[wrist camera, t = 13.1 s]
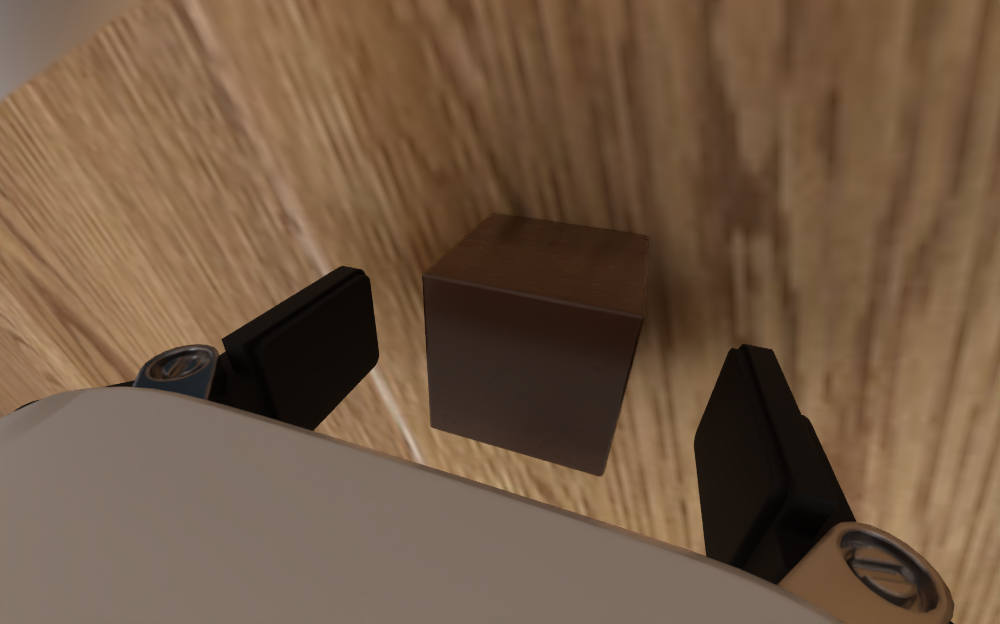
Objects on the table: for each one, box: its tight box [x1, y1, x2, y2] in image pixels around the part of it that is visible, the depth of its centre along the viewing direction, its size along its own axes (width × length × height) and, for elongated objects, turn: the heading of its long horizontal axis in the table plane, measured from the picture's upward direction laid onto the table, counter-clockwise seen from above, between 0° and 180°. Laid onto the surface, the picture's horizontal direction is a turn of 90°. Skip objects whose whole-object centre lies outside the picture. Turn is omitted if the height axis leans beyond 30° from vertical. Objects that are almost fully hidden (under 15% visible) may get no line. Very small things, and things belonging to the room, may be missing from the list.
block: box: [422, 213, 649, 476], centre depth 11 cm, size 5×5×5 cm
